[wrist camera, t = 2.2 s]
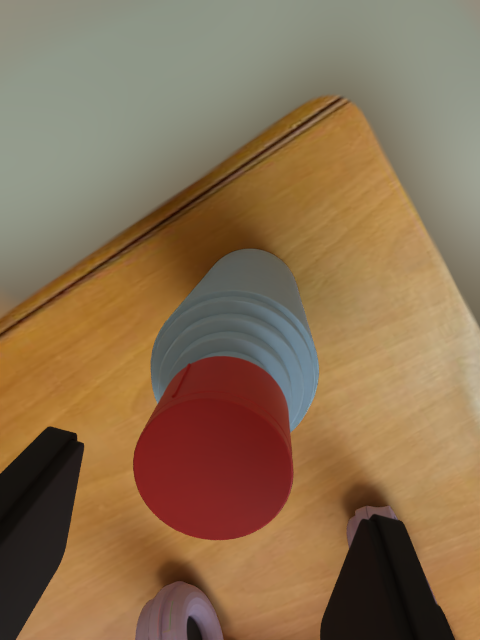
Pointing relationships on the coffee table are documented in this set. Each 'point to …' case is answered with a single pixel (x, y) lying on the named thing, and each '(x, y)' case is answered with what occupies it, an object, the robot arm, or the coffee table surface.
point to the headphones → (206, 602)
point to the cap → (217, 450)
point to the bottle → (243, 327)
